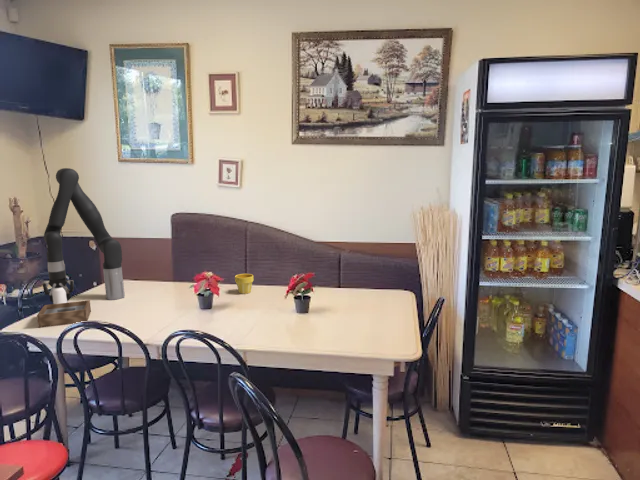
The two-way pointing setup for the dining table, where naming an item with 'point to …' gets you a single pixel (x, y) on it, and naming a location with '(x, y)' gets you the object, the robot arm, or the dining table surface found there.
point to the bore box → (63, 313)
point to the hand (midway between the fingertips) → (60, 301)
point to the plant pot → (244, 283)
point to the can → (59, 295)
